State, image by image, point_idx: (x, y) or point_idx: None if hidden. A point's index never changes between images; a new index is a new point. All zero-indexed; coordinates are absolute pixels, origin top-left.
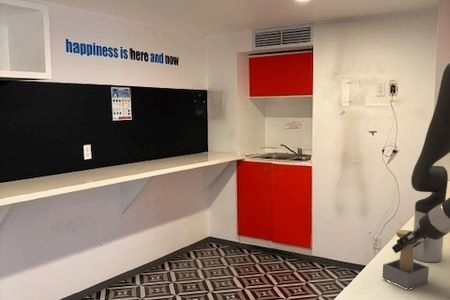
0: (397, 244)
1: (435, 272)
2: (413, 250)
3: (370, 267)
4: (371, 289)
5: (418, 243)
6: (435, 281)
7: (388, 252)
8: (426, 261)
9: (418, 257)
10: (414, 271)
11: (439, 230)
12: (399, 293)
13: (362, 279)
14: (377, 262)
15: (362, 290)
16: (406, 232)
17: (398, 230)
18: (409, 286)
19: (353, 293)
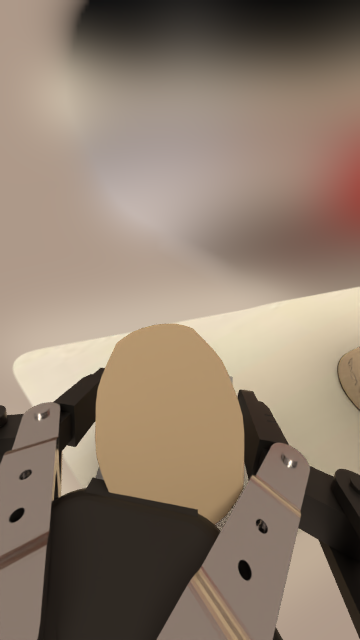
0: (56, 401)
1: (316, 466)
2: (356, 351)
3: (188, 323)
4: (67, 385)
5: (244, 459)
6: None
7: (301, 307)
8: (354, 402)
9: (345, 376)
10: None
11: None
12: (81, 456)
13: (112, 344)
14: (227, 319)
15: (51, 374)
16: (160, 392)
17: (168, 328)
18: None
19: (24, 368)
